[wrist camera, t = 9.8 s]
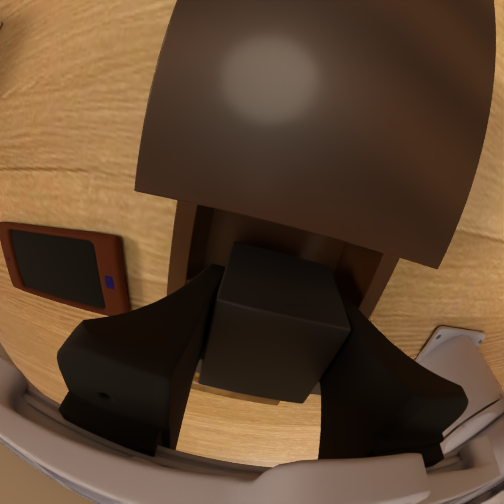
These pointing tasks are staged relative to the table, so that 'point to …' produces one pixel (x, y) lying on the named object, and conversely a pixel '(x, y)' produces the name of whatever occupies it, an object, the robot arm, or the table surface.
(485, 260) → the table surface
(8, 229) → the smartphone
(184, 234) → the drawer
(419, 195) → the cabinet
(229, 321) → the block
